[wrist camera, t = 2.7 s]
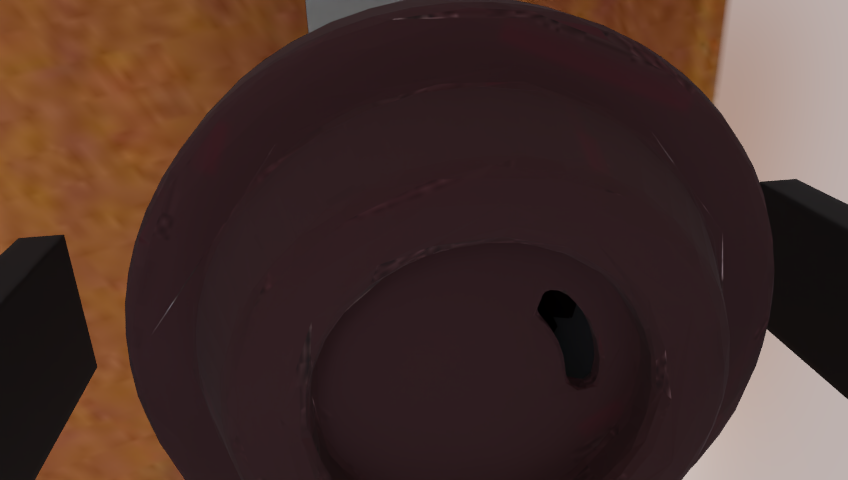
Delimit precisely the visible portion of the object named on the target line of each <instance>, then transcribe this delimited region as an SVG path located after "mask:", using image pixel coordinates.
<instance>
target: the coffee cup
mask: <svg viewBox="0 0 848 480" xmlns="http://www.w3.org/2000/svg"><path fill="white" fill-rule="evenodd" d="M773 286H774V254H773V238H772V232H771V227H770V222H769V217H768V213H767V208H766V203H765V198H764V194H763V191H762V188H761V186H760V183H759V180H758V177H757V175H756V172H755V169H754V167H753V165H752V163H751V161H750V160H749V158H748V156H747V154H746V152H745V150H744V148H743V146H742V145H741V143H740V142H739V140H738V138H737V137H736V136H735V134H734V132H733V131H732V129H731V128H730V126H729V125H728V123H727V122H726V120H725V119H724V117H723V116H722V114H721V113H720V112H719V110H718V109H717V108H716V107H715V106H714V105H713V103H712V102H711V101H710V100H709V99H708V98H707V97H706V95H705V94H704V93H703V92H702V91H701V90H700V89H699V88H698V87H697V86H696V85H695V84H694V83H692V82H691V81H690V80H689V79H688V78H687V77H686V76H685V75H684V74H683V73H682V72H680V71H679V70H678V69H676V68H675V67H674V66H672V65H671V64H670V63H669V62H667V61H666V60H665V59H663V58H662V57H661V56H659V55H658V54H656V53H654V52H653V51H651V50H650V49H648V48H647V47H645V46H643V45H642V44H640V43H638V42H636V41H634V40H632V39H630V38H628V37H626V36H624V35H622V34H620V33H618V32H616V31H614V30H612V29H610V28H608V27H606V26H604V25H601V24H598V23H595V22H592V21H588V20H585V19H582V18H579V17H576V16H573V15H570V14H567V13H564V12H561V11H558V10H554V9H551V8H548V7H545V6H540V5H535V4H530V3H526V2H521V1H516V0H403V1H398V2H394V3H390V4H386V5H382V6H377V7H373V8H369V9H367V10H364V11H361V12H358V13H355V14H352V15H349V16H347V17H344V18H341V19H338V20H335V21H332V22H330V23H328V24H326V25H324V26H322V27H320V28H318V29H316V30H314V31H312V32H310V33H308V34H306V35H304V36H302V37H300V38H298V39H296V40H294V41H293V42H291V43H289V44H288V45H286V46H285V47H283V48H282V49H280V50H279V51H277V52H275V53H274V54H272V55H271V56H269V57H268V58H266V59H265V60H263V61H262V62H261V63H260V64H258V65H257V66H256V67H255V68H253V69H252V70H251V71H250V72H248V73H247V74H246V75H245V76H243V77H242V78H241V79H240V80H239V81H238V82H237V83H236V84H235V85H234V86H233V87H232V88H231V89H230V90H229V91H228V92H227V93H226V95H225V96H224V97H223V98H222V99H221V100H220V101H219V102H218V103H217V104H216V105H215V106H214V107H213V108H212V109H211V110H210V111H209V112H208V113H207V114H206V116H205V117H204V118H203V120H202V121H201V122H200V124H199V125H198V126H197V128H196V129H195V130H194V132H193V133H192V134H191V136H190V137H189V138H188V140H187V141H186V142H185V144H184V145H183V146H182V148H181V149H180V151H179V152H178V154H177V155H176V157H175V158H174V160H173V162H172V163H171V165H170V166H169V168H168V169H167V171H166V172H165V174H164V176H163V177H162V179H161V181H160V183H159V185H158V187H157V189H156V191H155V193H154V195H153V197H152V200H151V202H150V204H149V206H148V208H147V210H146V212H145V215H144V218H143V221H142V224H141V227H140V230H139V232H138V235H137V238H136V241H135V245H134V249H133V254H132V258H131V263H130V267H129V272H128V281H127V291H126V301H125V316H126V339H127V346H128V353H129V360H130V366H131V370H132V374H133V378H134V382H135V386H136V390H137V394H138V397H139V399H140V402H141V404H142V406H143V409H144V411H145V413H146V415H147V418H148V420H149V422H150V424H151V426H152V428H153V430H154V432H155V434H156V436H157V438H158V440H159V442H160V444H161V445H162V447H163V448H164V450H165V451H166V452H167V454H168V455H169V457H170V458H171V460H172V461H173V463H174V464H175V466H176V467H177V469H178V470H179V472H180V473H181V474H182V476H183V477H184V479H185V480H682V479H683V477H684V476H685V475H686V474H687V472H688V471H689V470H690V468H691V467H693V466H694V464H695V463H696V462H697V461H698V460H699V459H700V457H701V456H702V455H703V454H704V453H705V451H706V450H707V449H708V448H709V447H710V445H711V444H712V443H713V442H714V440H715V439H716V438H717V437H718V435H719V434H720V433H721V431H722V430H723V428H724V427H725V425H726V423H727V422H728V420H729V419H730V417H731V415H732V414H733V413H734V411H735V410H736V407H737V405H738V403H739V401H740V399H741V397H742V395H743V392H744V390H745V388H746V386H747V384H748V382H749V379H750V377H751V375H752V373H753V371H754V369H755V366H756V363H757V360H758V357H759V354H760V351H761V348H762V345H763V341H764V337H765V333H766V329H767V326H768V322H769V317H770V310H771V303H772V297H773Z"/></svg>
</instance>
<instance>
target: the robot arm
mask: <svg viewBox="0 0 848 480" xmlns="http://www.w3.org/2000/svg"><path fill="white" fill-rule="evenodd" d="M760 186H761V188H762V191H763V194H764V198H765V203H766V208H767V213H768V217H769V222H770V227H771V232H772V238H773V254H774V286H773V297H772V303H771V310H770V317H769V322H768V326H767V329H768V330H769V331H770V332H771V333H772V334H773V335H775V336H776V337H777V338H778V339H779V340H780V341H781V342H783V343H784V344H785V345H786V346H787V347H788V348H789V349H790V350H792V351H793V352H794V353H795V354H796V355H797V356H799V357H800V358H801V359H802V360H803V361H804V362H805V363H807V364H808V365H809V366H810V367H811V368H812V369H814V370H815V371H816V372H817V373H818V374H819V375H820V376H822V377H823V378H824V379H825V380H826V381H827V382H829V383H830V384H831V385H832V386H833V387H834V388H836V389H837V390H838V391H839V392H840V393H841V394H842V395H844V396H845V397H846V398H847V399H848V204H846V203H843V202H842V201H840V200H837V199H835V198H833V197H831V196H829V195H827V194H825V193H823V192H821V191H819V190H817V189H815V188H813V187H811V186H809V185H807V184H805V183H803V182H801V181H799V180H797V179H792V180H779V181H766V182H760ZM96 368H97V364H96V360H95V356H94V352H93V348H92V344H91V340H90V336H89V332H88V328H87V324H86V320H85V316H84V312H83V308H82V304H81V300H80V296H79V292H78V289H77V285H76V281H75V277H74V273H73V269H72V265H71V261H70V257H69V253H68V249H67V245H66V241H65V237H64V235H55V236H42V237H29V238H18V239H17V240H16V241H15V242H14V243H13V244H12V245H11V246H10V247H9V248H8V249H7V250H6V251H4V252H3V253H2V254H1V255H0V480H35V479H36V477H37V475H38V473H39V471H40V469H41V468H42V466H43V464H44V462H45V460H46V459H47V457H48V455H49V453H50V451H51V450H52V448H53V446H54V444H55V442H56V441H57V439H58V437H59V435H60V433H61V432H62V430H63V428H64V426H65V424H66V422H67V421H68V419H69V417H70V415H71V413H72V412H73V410H74V408H75V406H76V404H77V403H78V401H79V399H80V397H81V395H82V394H83V392H84V390H85V388H86V386H87V384H88V383H89V381H90V379H91V377H92V375H93V374H94V372H95V370H96Z"/></svg>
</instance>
